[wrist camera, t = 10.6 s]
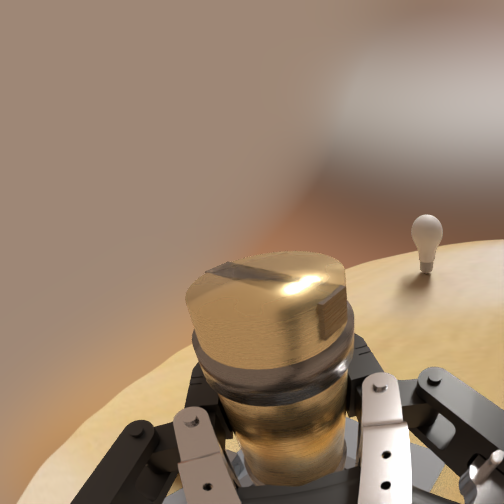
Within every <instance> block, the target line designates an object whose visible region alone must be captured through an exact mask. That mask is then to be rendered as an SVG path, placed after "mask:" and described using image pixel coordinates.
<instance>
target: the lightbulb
mask: <svg viewBox="0 0 504 504" xmlns="http://www.w3.org/2000/svg"><path fill="white" fill-rule="evenodd" d="M411 233H412V238H413V240H414V242H415V244H416V246H417V249H418V252H419V260H420V270H421V271H422V272H424V273H425V274H428V273H429V272H431V271H432V269H433V261H434V259H435V253H436V249H437V247H438V245H439V243H440V241H441V239H442V235H443V230H442V226H441V224H440V222H439V221H438V219H437V218H435V217H434V216H431V215H423V216H420V217H418V218H417V219H416V220H415V221H414V223H413V226H412V230H411Z"/></svg>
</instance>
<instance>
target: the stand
mask: <svg viewBox="0 0 504 504" xmlns="http://www.w3.org/2000/svg"><path fill="white" fill-rule="evenodd" d="M357 433H358V422H357V421H354V420H352V419H350V418H347V417H346V420H345V433H344V438H345V441H346V445H347V456H346V463H345V468H344V470H346V469H349V468H353V467H355V462H356V450H357ZM409 444H410V458H411V483H412V485H413V486H415V487H417V488H420V489H422V490H425V491H427V492H430V491H431V489H432V487H433V485H434V484H435V482H436V480H437V478H438V476H439V475H440V473H441V471H442V469H443V467H444V465H445V463H444V462H443V461H442V460H441V459H440V458H439V457H437V456H436V455H435V454H434V453H433V452H432V451H431V450H430V449H428V448H425V447H422V446H419V445H416V444H413V443H410V442H409ZM237 453H238V455H239V457H240V459H241V461H242V463H243V465H244V467H245V464H244V454H243V452H242V450H239V451H238V452H237ZM238 480H239V482H240V484H241V486H242V487H250V486H255V485H254V484H253V482H252V480H251V478H250V476H249V475H248V473H247V471H246V468H244V470H243V471H242V473H241V474H240V475H239V477H238ZM162 504H187V500H186V497H185V493H184V489H183V488H181V489H180V490H178V491H176V492H174V493H173V494H171V495H169V496H167V497H165V499H164V501H163V503H162Z"/></svg>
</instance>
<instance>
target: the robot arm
mask: <svg viewBox="0 0 504 504" xmlns="http://www.w3.org/2000/svg"><path fill="white" fill-rule="evenodd" d="M346 411H347V414H348V416H349V418H350V417H353V416H357V419H358V433H357V450H356V462H355V467H353V468H349V469H346V470H342V471H338V472H334V473H330V474H328V475H326V476H323V477H321V478H319V479H317V480H314V481H312V482H310V483H307V484H305V485H302V486H277V485H261V486H250V487H242V486H241V484H240V482H239V480H238V478H237V475H236V473H235V471H234V468H233V466H232V464H231V461H230V459H229V456H228V454H227V451H226V449H225V439H233V430H232V427H231V425H230V423H229V420H228V418H227V415H226V413H225V411H224V408H223V406H222V403H221V401H220V398H219V396H218V393H217V392H216V391H215V390H214V389H213V388H212V387H211V386H210V385H209V384H208V382H207V381H206V378H205V376H204V374H203V371H202V369H201V366H200V363H199V362H198V363H197V364H196V366H195V367H194V368H193V370H192V375H191V380H190V385H189V389H188V393H187V398H186V403H185V408H184V409H183V410H181V411H179V412H178V413H177V414H176V415H175V417H174V420H173V422H171V423H167V424H164V425H160V426H156V427H154V426H153V425H152V424H151V423H150V422H148V421H146V420H137V421H134V422H132V423H130V424H128V425H127V426H126V427H125V428H124V430H123V431H122V433H121V434H120V435H119V437H118V438H117V440H116V441H115V442H114V444H113V445H112V446H111V448H110V449H109V451H108V452H107V453H106V455H105V456H104V458H103V459H102V460H101V462H100V463H99V464H98V466H97V467H96V469H95V470H94V471H93V473H92V474H91V476H90V477H89V478H88V480H87V481H86V482H85V484H84V485H83V487H82V488H81V489H80V491H79V492H78V494H77V495H76V496H75V498H74V499H73V501H72V502H71V503H70V504H162V503H163V501H164V499H165V497H166V495H167V493H168V492H169V490H170V488H171V486H172V484H173V482H174V480H175V478H176V476H177V474H178V472H179V473H180V477H181V482H182V485H183V489H184V493H185V497H186V500H187V504H460V503H457V502H454V501H451V500H448V499H446V498H443V497H440V496H437V495H435V494H432V493H430V492H427V491H425V490H422V489H420V488H417V487H415V486H413V485H412V483H411V458H410V444H409V432H408V429H409V430H410V431H411V432H412V433H413V434H414V435H415V436H416V437H417V438H418V439H419V440H420V441H421V442H423V443H424V444H425V445H426V446H427V447H428V448H429V449H430V450H431V451H432V452H433V453H434V454H435V455H436V456H437V457H439V458H440V459H441V460H442V461H443V462H444V463H445V464H446V465H447V466H448V467H449V468H450V469H452V470H453V471H454V472H455V473H456V474H457V475H458V476H459V477H460V480H459V490H460V493H461V495H463V496H464V500H465V504H504V410H502V409H501V408H500V407H498V406H497V405H495V404H494V403H492V402H491V401H490V400H488V399H487V398H485V397H484V396H482V395H481V394H480V393H478V392H477V391H475V390H474V389H472V388H471V387H469V386H468V385H467V384H465V383H464V382H462V381H461V380H459V379H458V378H456V377H455V376H453V375H452V374H451V373H449V372H448V371H446V370H445V369H443V368H439V367H430V368H427V369H425V370H423V371H422V372H421V373H420V374H419V377H418V379H412V380H397V379H396V378H395V377H394V376H393V375H391V374H389V373H385V372H384V371H383V369H382V368H381V366H380V365H379V363H378V361H377V360H376V358H375V357H374V355H373V353H372V352H371V350H370V349H369V347H367V344H366V342H365V341H364V339H363V338H362V337H360V336H358V335H357V334H355V333H354V354H353V358H352V361H351V364H350V365H349V367H348V377H347V403H346Z"/></svg>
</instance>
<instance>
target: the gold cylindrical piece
mask: <svg viewBox="0 0 504 504" xmlns="http://www.w3.org/2000/svg"><path fill="white" fill-rule="evenodd" d="M205 273H206V274H204V275H203V276H201V277H200V278H198V279H197V280H196V281H195V282H194V283H193V284H192V285H191V286H190V287H189V289H188V291H187V293H186V297H185V300H186V304H187V307H188V311H189V314H190V317H191V320H192V323H193V326H194V331H193V334H192V343H193V347H194V350H195V353H196V355H197V358H198V361H199V363H200V366H201V369H202V371H203V374H204V376H205V378H206V381H207V382H208V384H209V385H210V386H211V387H212V388H213V389H214V390H215V391H216V392H217V393H218V396H219V398H220V401H221V403H222V406H223V408H224V411H225V413H226V415H227V418H228V420H229V423H230V425H231V427H232V430H233V432H234V434H235V437H236V439H237V441H238V443H239V446H240V448H241V450H242V452H243V454H244V464H245V468H246V471H247V473H248V475H249V476H250V478H251V480H252V482H253V484H254V485H255V486H261V485H277V486H302V485H305V484H307V483H310V482H312V481H314V480H317V479H319V478H321V477H323V476H326V475H328V474H330V473H334V472H338V471H342V470H344V468H345V463H346V456H347V445H346V441H345V438H344V433H345V420H346V403H347V377H348V367H349V365H350V364H351V361H352V358H353V354H354V313H353V309H352V307H351V305H350V304H349V302H348V301H347V294H346V278H345V269H344V267H343V265H342V264H341V263H340V262H339V261H338V260H336V259H334V258H332V257H330V256H327V255H324V254H320V253H314V252H306V251H284V252H273V253H267V254H260V255H256V256H251V257H247V258H243V259H240V260H236V261H233V262H226V263H224V264H222V265H219V266H217V267H215V268H212V269H210V270H208V271H206V272H205Z"/></svg>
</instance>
